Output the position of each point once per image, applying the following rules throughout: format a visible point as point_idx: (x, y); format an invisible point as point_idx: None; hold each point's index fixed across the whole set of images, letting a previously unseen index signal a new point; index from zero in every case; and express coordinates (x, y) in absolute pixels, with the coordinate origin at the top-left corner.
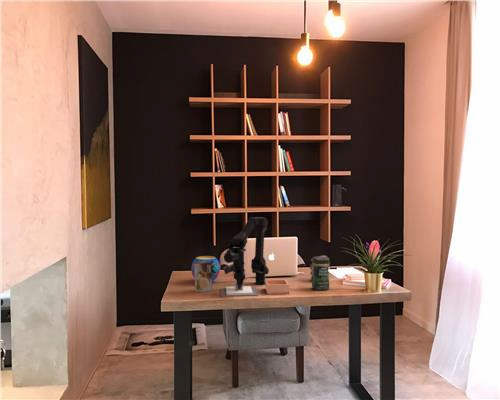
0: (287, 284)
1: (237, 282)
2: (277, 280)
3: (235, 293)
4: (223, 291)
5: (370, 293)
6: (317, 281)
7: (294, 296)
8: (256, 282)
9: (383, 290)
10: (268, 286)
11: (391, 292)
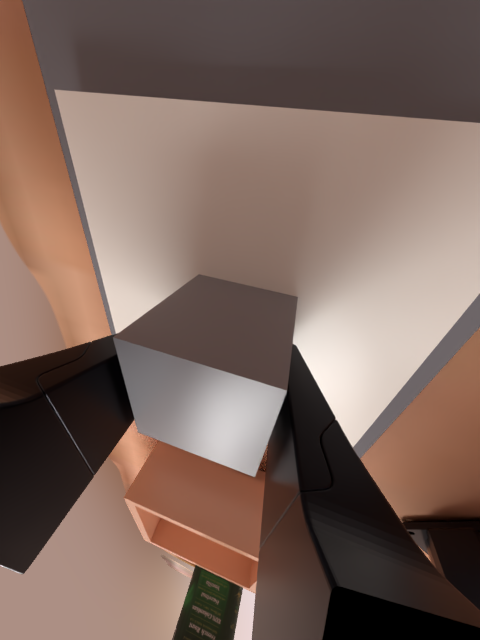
0: (147, 539)
1: (58, 359)
2: (256, 577)
3: (100, 244)
4: (302, 35)
5: (169, 553)
6: (190, 587)
7: (134, 475)
8: (466, 540)
9: (190, 571)
10: (132, 489)
11: (175, 565)
